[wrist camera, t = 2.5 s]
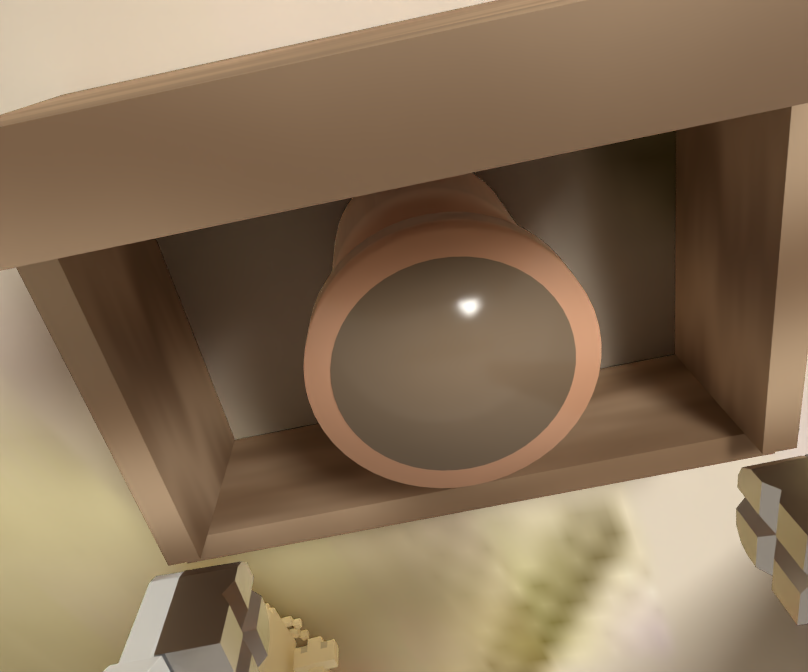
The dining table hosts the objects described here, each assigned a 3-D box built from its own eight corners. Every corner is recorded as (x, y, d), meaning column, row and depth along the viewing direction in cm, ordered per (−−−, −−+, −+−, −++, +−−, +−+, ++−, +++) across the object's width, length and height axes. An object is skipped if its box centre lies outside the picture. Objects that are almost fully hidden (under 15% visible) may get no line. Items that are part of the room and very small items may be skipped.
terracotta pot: (299, 172, 20) (265, 265, 13) (511, 128, 20) (593, 199, 13) (348, 356, 24) (342, 511, 16) (533, 319, 23) (608, 461, 16)
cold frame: (58, 84, 19) (-400, 213, 7) (712, -59, 18) (1298, -154, 7) (217, 465, 25) (102, 839, 14) (700, 371, 25) (987, 687, 13)
